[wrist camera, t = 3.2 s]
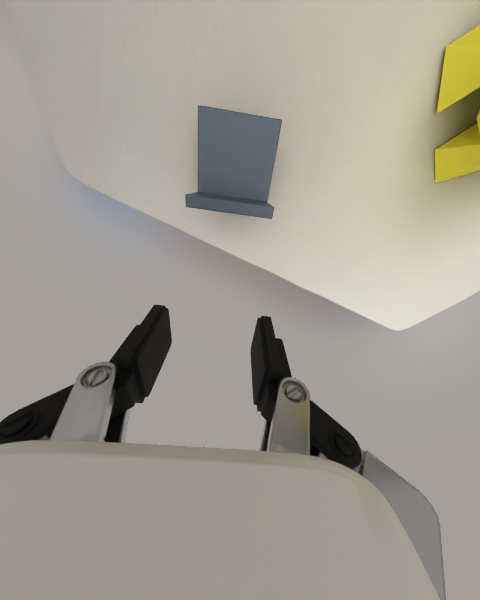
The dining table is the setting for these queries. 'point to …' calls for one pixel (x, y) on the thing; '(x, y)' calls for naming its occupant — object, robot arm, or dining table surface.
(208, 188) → the chair
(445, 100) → the piggy bank
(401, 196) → the dining table surface
